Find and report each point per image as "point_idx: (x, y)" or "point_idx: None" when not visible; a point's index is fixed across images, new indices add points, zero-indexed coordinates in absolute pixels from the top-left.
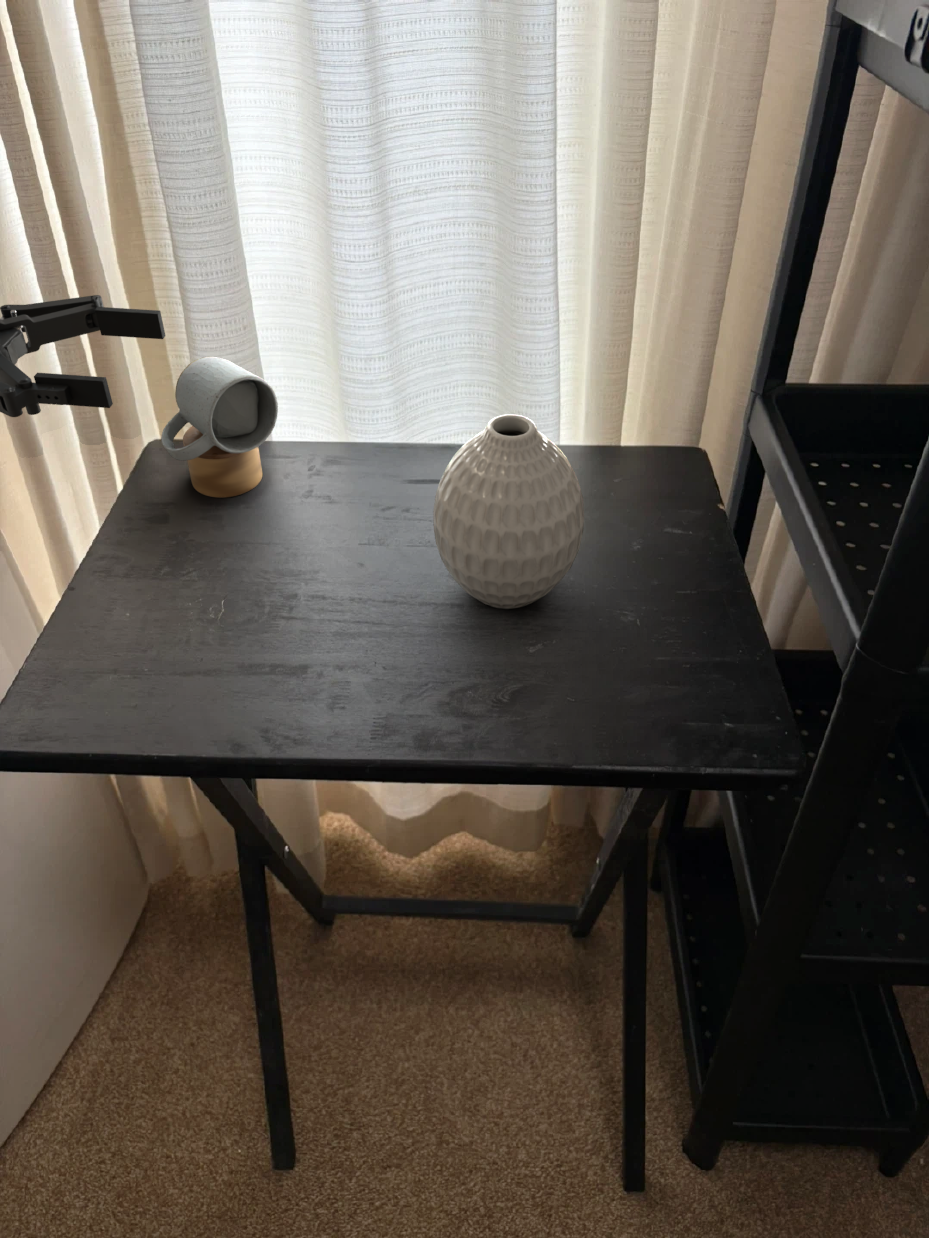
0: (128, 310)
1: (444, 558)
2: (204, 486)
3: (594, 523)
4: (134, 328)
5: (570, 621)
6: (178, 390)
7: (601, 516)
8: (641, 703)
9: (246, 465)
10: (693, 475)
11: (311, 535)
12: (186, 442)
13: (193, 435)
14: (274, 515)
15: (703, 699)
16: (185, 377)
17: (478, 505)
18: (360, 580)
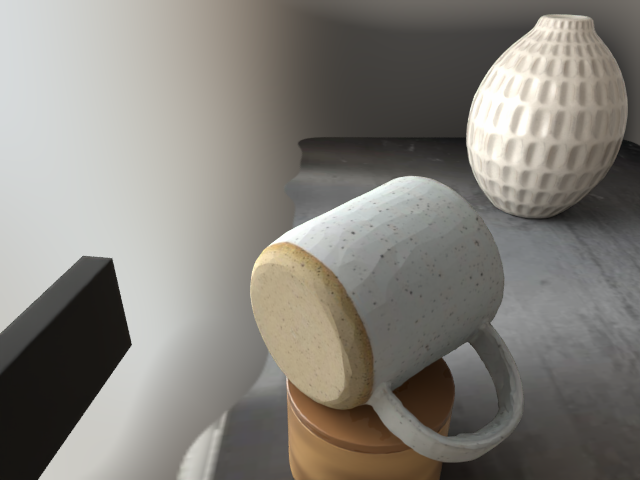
0: (13, 340)
1: (601, 169)
2: (441, 466)
3: (411, 170)
4: (61, 395)
5: None
6: (386, 330)
7: (400, 168)
8: (619, 167)
9: None
10: (335, 139)
11: (504, 326)
12: None
13: (374, 424)
14: (470, 369)
15: None
16: (376, 285)
17: (623, 81)
18: (573, 281)
